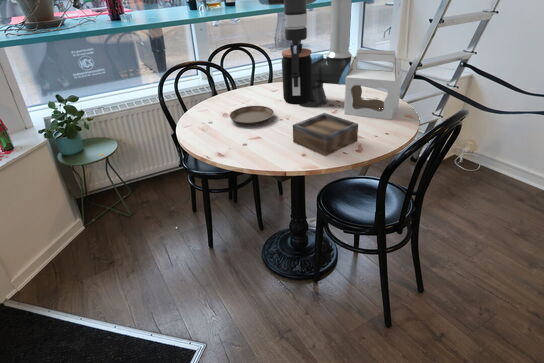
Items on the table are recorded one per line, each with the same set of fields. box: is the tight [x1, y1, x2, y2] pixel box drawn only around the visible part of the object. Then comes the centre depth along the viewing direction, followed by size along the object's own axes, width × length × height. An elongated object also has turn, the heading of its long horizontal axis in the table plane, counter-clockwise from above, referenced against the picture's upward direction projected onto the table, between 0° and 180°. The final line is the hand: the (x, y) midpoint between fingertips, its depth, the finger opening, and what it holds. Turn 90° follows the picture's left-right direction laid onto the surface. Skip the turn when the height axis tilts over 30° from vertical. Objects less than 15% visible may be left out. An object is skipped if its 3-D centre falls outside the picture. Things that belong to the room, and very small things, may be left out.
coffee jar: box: [280, 47, 312, 106], centre depth 137 cm, size 11×11×18 cm
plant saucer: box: [229, 105, 275, 127], centre depth 176 cm, size 21×21×3 cm
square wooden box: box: [292, 112, 359, 157], centre depth 148 cm, size 18×18×8 cm
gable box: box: [343, 49, 403, 121], centre depth 168 cm, size 22×13×28 cm, turn 62°
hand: (297, 90), depth 140 cm, fingers closed on coffee jar, 11 cm apart
